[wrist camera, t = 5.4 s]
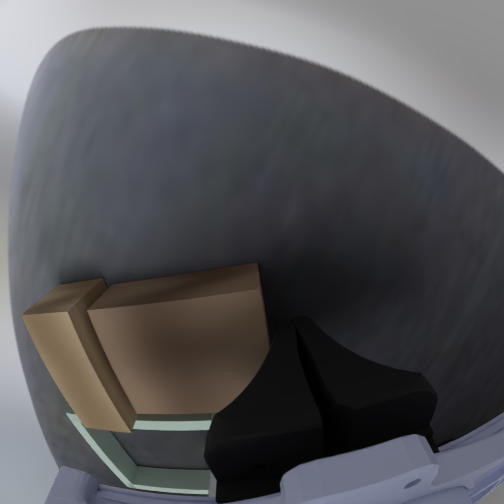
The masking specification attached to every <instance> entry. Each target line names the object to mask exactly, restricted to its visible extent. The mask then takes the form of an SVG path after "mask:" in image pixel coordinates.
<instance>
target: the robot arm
mask: <svg viewBox="0 0 504 504" xmlns="http://www.w3.org/2000/svg"><path fill="white" fill-rule="evenodd" d="M437 400H438V398H437V393H436V392H435V390H434V389H433V387H432V386H431V385H430V383H429V382H428V381H427V380H426V378H425V377H424V376H423V375H422V374H421V373H417V372H411V371H405V370H399V369H395V368H391V367H388V366H384V365H381V364H378V363H375V362H373V361H370V360H368V359H365V358H363V357H361V356H359V355H357V354H355V353H353V352H352V351H350V350H348V349H346V348H345V347H343V346H342V345H340V344H339V343H337V342H336V341H335V340H333V339H332V338H331V337H330V336H328V335H327V334H326V333H325V332H323V331H322V330H321V329H320V328H319V327H318V326H317V325H316V324H315V323H314V322H313V321H312V320H311V319H310V318H309V317H308V316H301V317H295V318H289V319H283V320H278V321H277V322H276V328H275V333H274V337H273V340H272V343H271V346H270V349H269V351H268V353H267V355H266V357H265V360H264V362H263V363H262V365H261V367H260V369H259V370H258V372H257V373H256V375H255V376H254V378H253V379H252V380H251V382H250V383H249V384H248V385H247V387H246V388H245V389H244V390H243V391H242V392H241V393H240V394H239V395H238V396H237V397H236V398H235V399H234V400H233V401H232V402H231V403H230V404H229V405H227V406H226V407H225V408H224V409H222V410H221V411H220V412H218V413H217V414H215V415H214V417H213V419H212V422H211V425H210V428H209V431H208V434H207V438H206V444H205V453H204V458H205V461H206V464H207V465H208V467H209V469H210V470H211V472H212V474H213V476H214V477H215V479H216V480H217V482H216V496H215V497H199V496H179V495H166V494H157V493H148V492H141V491H134V490H128V489H122V488H117V487H112V486H107V485H103V484H99V483H98V482H97V480H96V479H95V478H94V477H93V476H91V475H90V474H88V473H86V472H84V471H81V470H77V469H73V468H69V467H66V466H61V468H60V470H59V473H58V475H57V477H56V479H55V481H54V484H53V486H52V488H51V490H50V493H49V495H48V497H47V500H46V502H45V504H477V501H479V500H480V499H482V498H483V497H485V496H486V495H487V494H489V493H490V492H492V491H493V490H494V489H496V488H497V487H498V486H500V485H501V484H502V483H503V482H504V412H503V413H502V414H500V415H499V416H497V417H496V418H494V419H493V420H491V421H489V422H488V423H486V424H484V425H483V426H481V427H479V428H477V429H476V430H474V431H472V432H470V433H468V434H467V435H465V436H463V437H461V438H459V439H457V440H455V441H451V442H449V443H447V444H445V445H443V446H441V447H437V445H436V444H435V442H434V440H433V438H432V435H433V430H432V428H431V426H430V421H431V419H432V416H433V413H434V411H435V408H436V405H437Z"/></svg>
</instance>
